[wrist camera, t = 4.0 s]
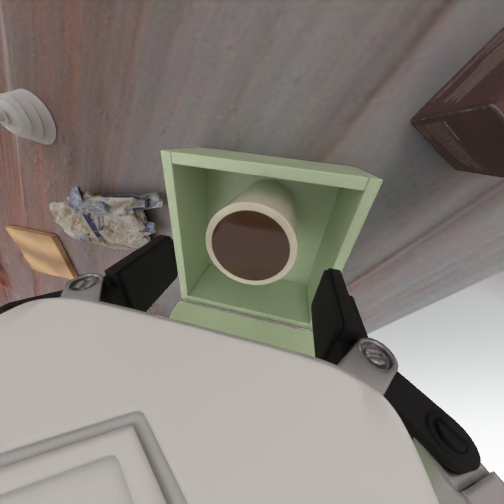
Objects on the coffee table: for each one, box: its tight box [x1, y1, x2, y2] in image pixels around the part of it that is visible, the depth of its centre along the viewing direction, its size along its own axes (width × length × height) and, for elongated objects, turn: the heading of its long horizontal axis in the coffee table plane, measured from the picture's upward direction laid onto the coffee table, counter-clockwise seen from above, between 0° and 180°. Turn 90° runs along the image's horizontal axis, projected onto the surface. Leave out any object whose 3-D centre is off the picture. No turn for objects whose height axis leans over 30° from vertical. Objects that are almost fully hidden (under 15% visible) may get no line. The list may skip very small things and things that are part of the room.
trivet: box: [5, 225, 78, 279], centre depth 32 cm, size 9×9×1 cm
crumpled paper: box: [49, 186, 164, 250], centre depth 23 cm, size 15×8×4 cm, turn 86°
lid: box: [169, 301, 315, 357], centre depth 15 cm, size 15×15×5 cm
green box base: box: [160, 147, 383, 330], centre depth 19 cm, size 15×15×7 cm
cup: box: [206, 180, 298, 285], centre depth 16 cm, size 7×7×8 cm
